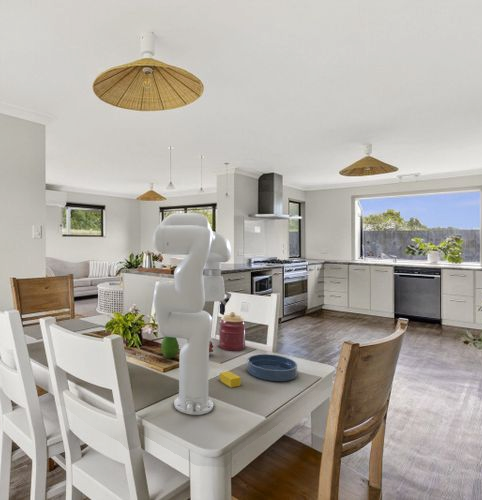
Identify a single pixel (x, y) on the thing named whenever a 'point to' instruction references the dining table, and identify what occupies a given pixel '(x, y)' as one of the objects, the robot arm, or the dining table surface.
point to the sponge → (230, 379)
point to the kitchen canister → (232, 332)
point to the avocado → (170, 347)
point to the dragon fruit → (210, 347)
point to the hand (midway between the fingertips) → (210, 314)
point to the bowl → (272, 367)
